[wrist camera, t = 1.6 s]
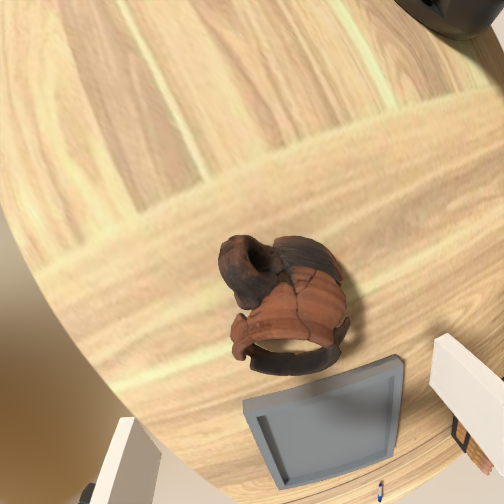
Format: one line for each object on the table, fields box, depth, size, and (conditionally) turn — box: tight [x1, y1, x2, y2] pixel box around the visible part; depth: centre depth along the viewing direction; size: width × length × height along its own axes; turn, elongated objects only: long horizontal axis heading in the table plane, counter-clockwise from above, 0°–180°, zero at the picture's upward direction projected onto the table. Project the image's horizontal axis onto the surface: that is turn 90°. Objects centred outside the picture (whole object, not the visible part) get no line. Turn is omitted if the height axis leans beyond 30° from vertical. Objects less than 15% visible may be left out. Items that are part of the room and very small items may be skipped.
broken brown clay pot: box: [218, 235, 350, 376], centre depth 21 cm, size 12×10×8 cm
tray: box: [243, 354, 404, 490], centre depth 28 cm, size 16×18×2 cm
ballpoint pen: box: [378, 483, 382, 502], centre depth 35 cm, size 10×1×1 cm, turn 20°
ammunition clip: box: [451, 415, 494, 475], centre depth 26 cm, size 11×2×12 cm, turn 24°
